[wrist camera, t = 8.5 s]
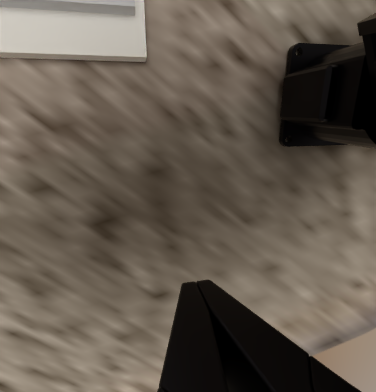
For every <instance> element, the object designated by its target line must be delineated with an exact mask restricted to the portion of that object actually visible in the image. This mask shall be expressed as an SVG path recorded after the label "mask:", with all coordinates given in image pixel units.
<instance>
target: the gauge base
mask: <svg viewBox="0 0 376 392" xmlns="http://www.w3.org/2000/svg"><path fill="white" fill-rule="evenodd" d="M0 58H29V59H62V60H95V61H128V62H146V58H147V53H146V33H145V14H144V0H0Z"/></svg>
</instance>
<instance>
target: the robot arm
mask: <svg viewBox="0 0 376 392" xmlns="http://www.w3.org/2000/svg"><path fill="white" fill-rule="evenodd" d="M357 25H358V31H359V36H362V37H363V43H359V44H356V45H353V46H349V45H329V44H309V43H298V44H295V45H293V46H292V47H291V48H290V50H289V54H288V63H287V73H286V77H285V78H284V86H283V95H282V105H281V114H280V116H281V118H282V119H281V128H280V137H279V142H280V144H281V145H283V146H287V147H291V146H319V145H347V144H349V145H356V146H362V147H369V148H375V149H376V13H375V14H373V15H371V16H369V17H368V18H366V19H364V20H362V21H360V22H359V23H357ZM296 49H298V51H299V55H298V56H297V55H296ZM287 136H288V137H289V140H288V141H287V142H286V140H285V139H286V137H287ZM157 392H361V391H360V390H358V389H357V388H355V387H354V386H352V385H351V384H349V383H348V382H347V381H345V380H344V379H342V378H341V377H340V376H338V375H337V374H335V373H334V372H332V371H331V370H330V369H329V368H327V367H326V366H325V365H323V364H322V363H320V362H319V361H318V360H316V359H315V358H314V357H312V356H310V357H309V354H308V353H307V352H306V351H304V350H303V349H302V348H300V347H299V346H298V345H296V344H295V343H294V342H292V341H291V340H290V339H288V338H287V337H286V336H284V335H283V334H282V333H280V332H279V331H277V330H276V329H275V328H273V327H272V326H271V325H269V324H268V323H267V322H265V321H264V320H263V319H261V318H260V317H259V316H257V315H256V314H255V313H253V312H252V311H251V310H249V309H248V308H247V307H245V306H244V305H243V304H241V303H240V302H239V301H237V300H236V299H235V298H233V297H232V296H231V295H229V294H228V293H227V292H225V291H224V290H223V289H221V288H220V287H219V286H217V285H216V284H215V283H213V282H212V281H211V280H202V281H197V282H187V283H183V284H182V286H181V290H180V294H179V299H178V303H177V308H176V312H175V317H174V321H173V326H172V330H171V334H170V339H169V343H168V348H167V352H166V357H165V361H164V365H163V370H162V374H161V379H160V383H159V389H158V391H157Z"/></svg>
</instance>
